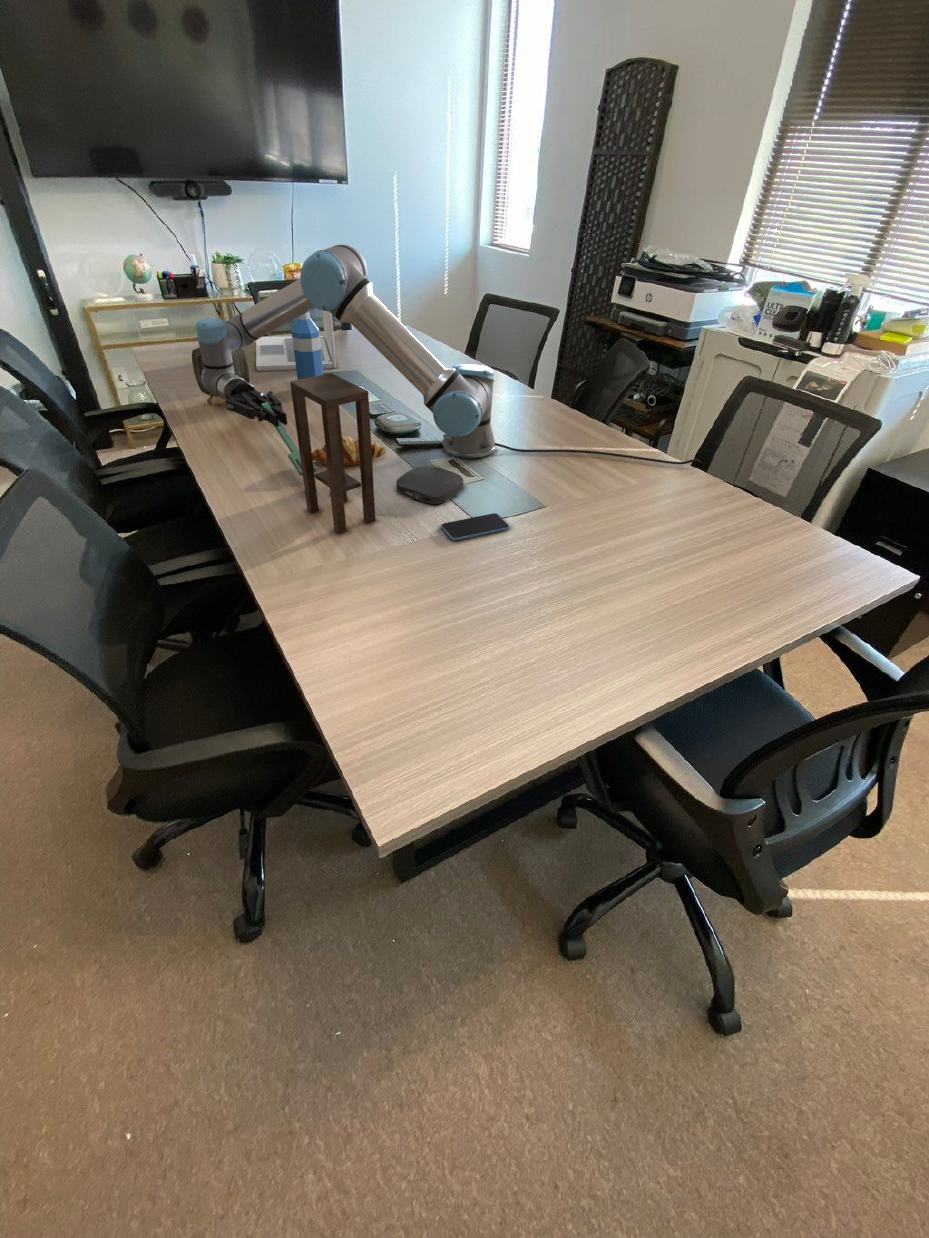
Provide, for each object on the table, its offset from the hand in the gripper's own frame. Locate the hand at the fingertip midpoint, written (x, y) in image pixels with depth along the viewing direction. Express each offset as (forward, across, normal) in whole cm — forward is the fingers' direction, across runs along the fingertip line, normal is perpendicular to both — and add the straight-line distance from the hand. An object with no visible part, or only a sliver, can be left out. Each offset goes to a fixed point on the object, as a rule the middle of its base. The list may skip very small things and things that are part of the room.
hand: (281, 420), depth 147 cm
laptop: (-96, -55, -16) cm, 112 cm away
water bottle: (-55, -39, -16) cm, 69 cm away
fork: (+1, 0, -4) cm, 5 cm away
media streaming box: (+27, -25, -15) cm, 40 cm away
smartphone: (+48, -21, -15) cm, 55 cm away
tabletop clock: (-59, -11, -16) cm, 62 cm away
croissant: (0, -18, -15) cm, 24 cm away
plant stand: (+25, 0, -15) cm, 29 cm away
